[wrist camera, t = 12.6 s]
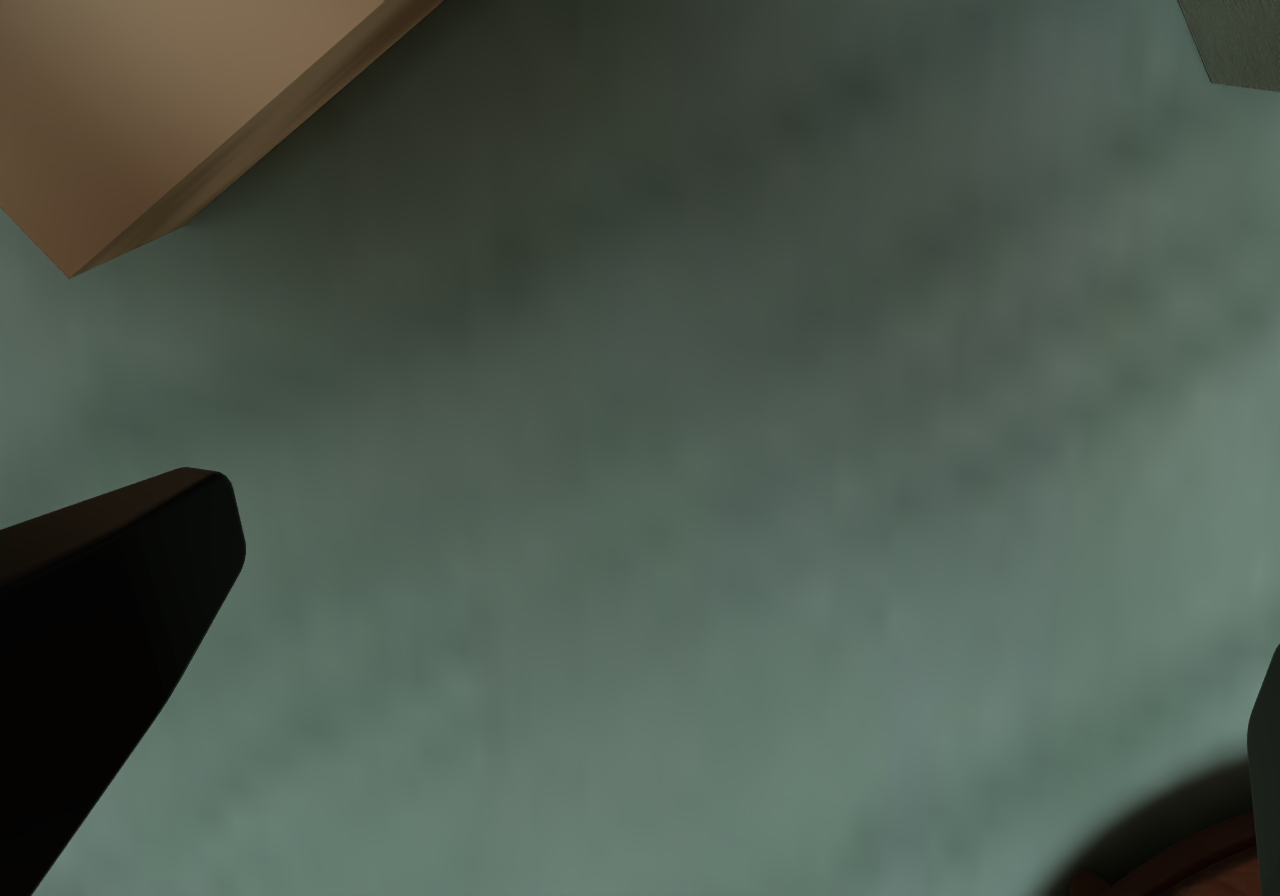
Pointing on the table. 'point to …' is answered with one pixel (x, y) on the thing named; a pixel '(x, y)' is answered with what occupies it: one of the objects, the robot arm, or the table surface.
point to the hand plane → (162, 105)
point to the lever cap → (1237, 40)
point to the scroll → (1191, 866)
